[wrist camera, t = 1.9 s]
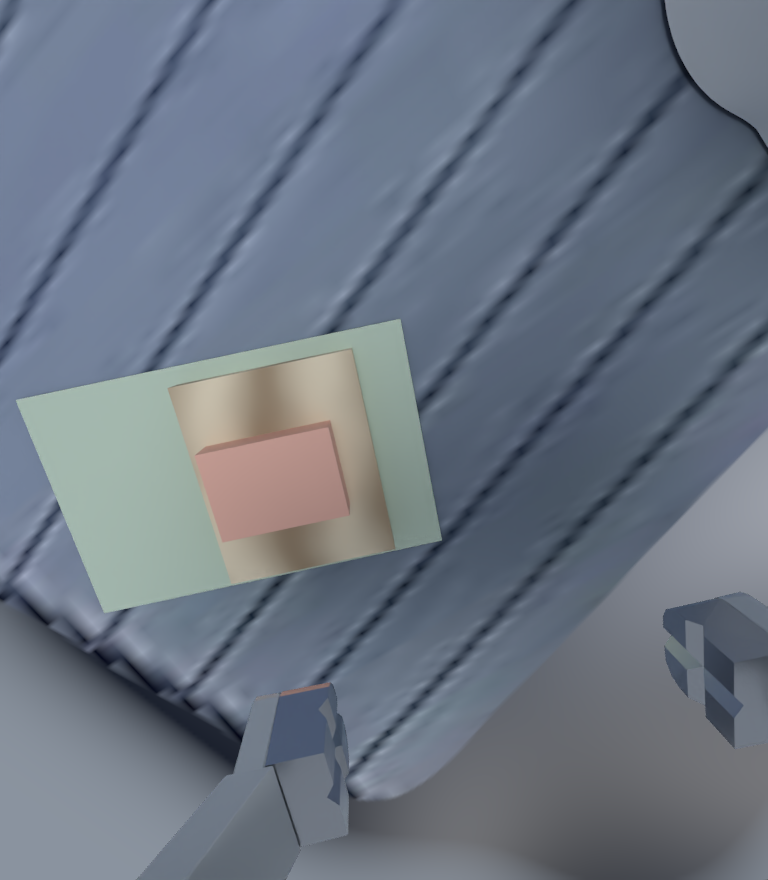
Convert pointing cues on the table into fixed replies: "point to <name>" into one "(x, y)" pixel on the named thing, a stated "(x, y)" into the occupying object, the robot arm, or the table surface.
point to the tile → (274, 481)
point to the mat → (172, 474)
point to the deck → (283, 407)
